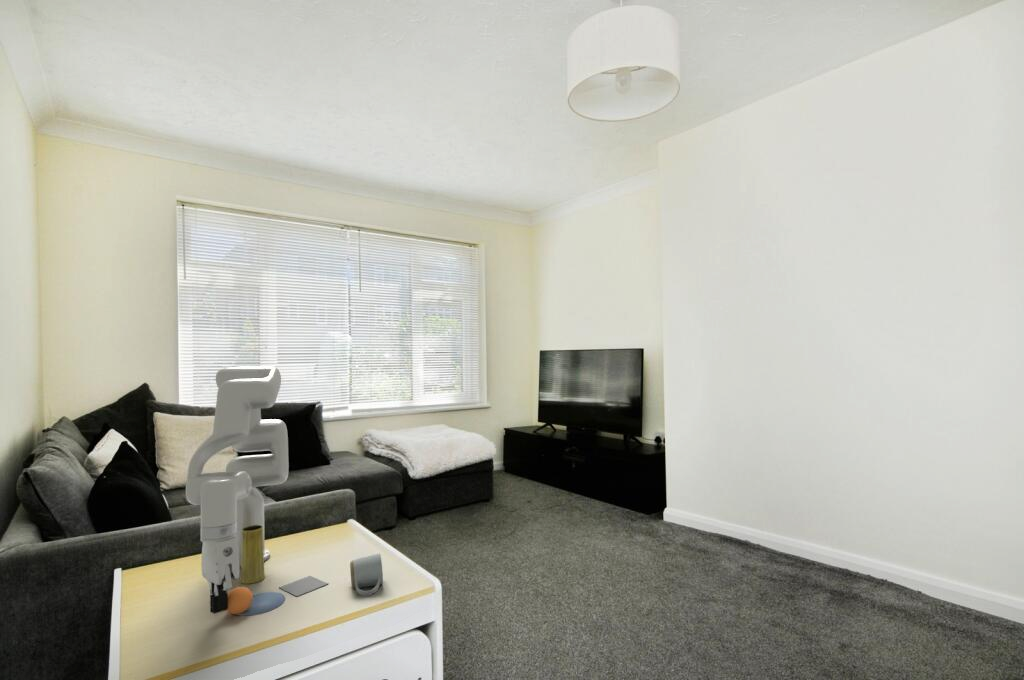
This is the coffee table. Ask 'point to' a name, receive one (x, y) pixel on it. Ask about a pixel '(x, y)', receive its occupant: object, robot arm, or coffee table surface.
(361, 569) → the grey rounded holder
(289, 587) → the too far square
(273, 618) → the coffee table surface
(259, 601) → the disc
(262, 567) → the vase
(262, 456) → the robot arm
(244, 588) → the ball
